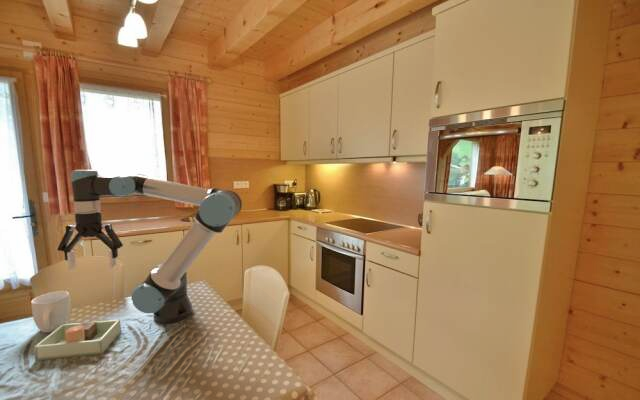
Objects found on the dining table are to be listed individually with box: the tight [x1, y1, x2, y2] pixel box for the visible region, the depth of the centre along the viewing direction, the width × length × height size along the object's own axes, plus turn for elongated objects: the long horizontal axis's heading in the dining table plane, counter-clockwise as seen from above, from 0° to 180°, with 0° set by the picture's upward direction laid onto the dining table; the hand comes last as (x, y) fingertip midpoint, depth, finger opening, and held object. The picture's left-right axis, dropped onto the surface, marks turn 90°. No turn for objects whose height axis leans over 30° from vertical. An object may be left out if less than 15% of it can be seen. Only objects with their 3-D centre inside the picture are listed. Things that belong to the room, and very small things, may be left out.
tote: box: [33, 319, 122, 362], centre depth 102 cm, size 20×14×5 cm
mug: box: [30, 290, 71, 333], centre depth 110 cm, size 15×11×13 cm
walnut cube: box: [78, 321, 97, 341], centre depth 105 cm, size 5×5×5 cm
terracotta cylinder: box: [65, 325, 85, 343], centre depth 99 cm, size 5×5×7 cm
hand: (93, 267), depth 106 cm, fingers open, 13 cm apart
